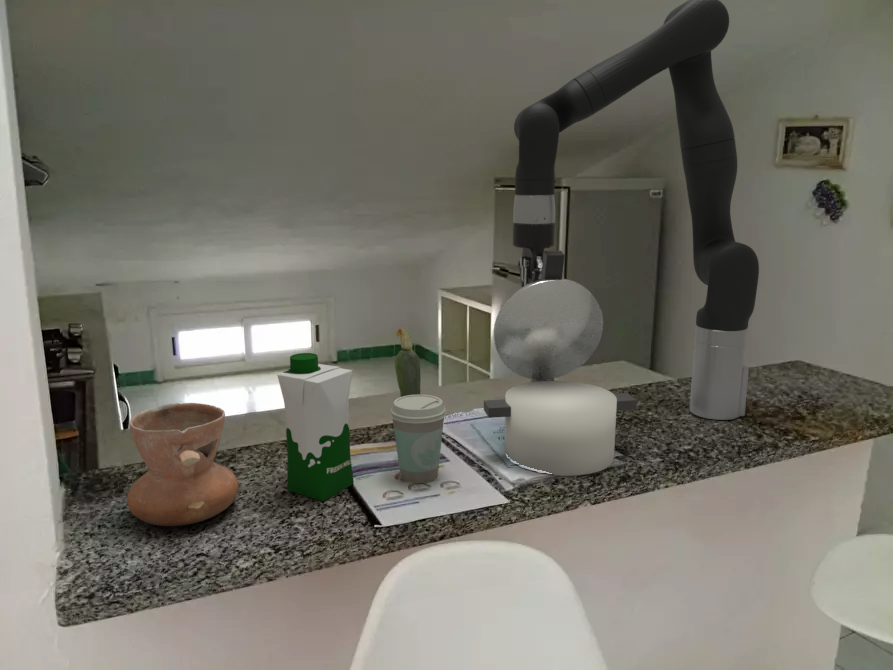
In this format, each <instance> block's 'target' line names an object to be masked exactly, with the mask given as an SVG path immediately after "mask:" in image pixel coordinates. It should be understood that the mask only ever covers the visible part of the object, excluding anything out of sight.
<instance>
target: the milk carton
mask: <svg viewBox="0 0 893 670" xmlns="http://www.w3.org/2000/svg"><path fill="white" fill-rule="evenodd" d="M289 363H290V364H289V367H290V368H289V369H288V370H285V371H283V372H281V373H278V374H277V379H278V383H279V386H280V390H281V395H282V399H283V404H284V417H285V434H286V438H285V439H286V452H287V454H286V455H287V471H286V472H287V477H286V478H287V479H286V480H287V482H286V484H287V485H286V486H287V487H286V490H287V491H289V492H293V493H295V494H299V495H301V496H305V497H308V498H312V499H314V500H318V501H320V502H325V501H326V500H328V499H330V498H331V497H333V496H335V495H336V494H338V493H340V492H341V491H345V489H347V488H349V487H351V486H352V484H353V483H354V484H355V482H354V473H353V465H352V459H351V440H350V437H351V435H350V413H349V412H350V408H349V407H350V406H349V403H350V402H349V398H350V391H351V384H352V376H353V372H354V371H353V369H347V368H341V367H340V366H335V365H328V364H322V363H319V357H318V354H316V353H312V352H311V353H310V352H302V353H301V352H300V353H295V354H292V355H290V357H289ZM354 484H353V485H354Z"/></svg>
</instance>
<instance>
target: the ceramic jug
mask: <svg viewBox="0 0 893 670" xmlns="http://www.w3.org/2000/svg"><path fill="white" fill-rule="evenodd" d="M225 420H226V412H225V410H224V409H222V408H221V407H217V406H214V405H210V404H207V403H206V404H205V403H201V402H200V403H199V402H182V403H178V402H176V403H169V404H164V405H159V406H155V407H150V408H146V409H145V410H143V411H142V410H141V411H139V412H138V413H136V414H135V415H133V417H131V418H130V419H129V423H128V424H129V425H128V426H129V430H130V433H131V438H132V439H133V442H134V445H135V447H136V449H137V451H138V453H139V455H140V458H141V459H142V460H143V462H144V464H145V465H146V467H147V468H148V471H146V472H145V473H144V474H143V475H141V476H140V477H139V478H138V479H137V480H135V481H134V483H133V484H132V486H131V487H130V488H129V490H128V493H127V498H126V503H127V504H126V505H127V506H128V509H129V511H130V513H132V515H133V516H134V517H135V518H137V519H138V520H140V521H142V522H145V523H147V524H149V525H154V526H159V527H179V526H180V527H181V526H187V525H192V524H193V525H194V524H196V523H200V522H204V521H206V520H208V519H211V518H213V517H215V516H217V515H219V514H221V513H222V512H224V511H225V510H226V509H227V508H229V507H230V506H231V505H232V504H233V503H234V501H235V500H236V498H237V495H238V492H239V480H238V478H237V476H236V475H235V473H233V472H232V471H231V470H230V469H228V468H227V467H225V466H222V465H220V464H218V463H216V462H215V461H214V460H215V457H216V456H217V455H216V454H217V452H218V449H219V446H220V442H221V438H222V436H223V433H224V428H225Z"/></svg>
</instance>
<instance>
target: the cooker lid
mask: <svg viewBox="0 0 893 670" xmlns="http://www.w3.org/2000/svg"><path fill="white" fill-rule="evenodd" d="M564 262H565V253H563V251H562V250H544V253H543V263H542V273H541V280H538V281H535V282H532V283H530V284H528V285H526V286H524V287H522V286H521V287H520V288H519V289H518V290H517V291H515V292H514V293H512V294H511V295H510V296H509V297H508V298H507V299H506V301H505V302H504V303H503V305H502V306H501V307H500V310H499V311H498V313H497V316H496V317H495V321H494V324H493V343H494V347H495V350H496V353H497V354H498V356H499V358H500V360H501V362H502V363H503V364H504V365H505V366H506V368H507V369H509V370H510V371H512V372H513V373H514V374H516V375H518V376H520V377H523V378H527V379H529V380H530V382H537V381H555V379H557V378H561V377H563V376H566V375H568V374H570V373H573V372H574V371H576V370H577V369H579V368H580V367H581V366H583V365H584V364H585V363H586V362H587V361H588V360H590V357H592V355H593V354H594V352H595V351H596V350H597V348H598V345H600V344H599V343H600V341H601V338H602V335H603V331H604V317H603V311H602V309H601V306H600V304H599V303H598V300H597V299H596V297H595V296H594V295H593V294H592V293H591V291H589V289H587V288H586V287H585V286H583V285H582V284H580V283H579V282H577V281H574V280H572V279H571V280H570V279H569V278H563V273H564V265H565V263H564Z"/></svg>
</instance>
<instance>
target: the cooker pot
mask: <svg viewBox="0 0 893 670" xmlns="http://www.w3.org/2000/svg"><path fill="white" fill-rule="evenodd" d="M637 405H638V399H636V398H635V397H633V396H632V394H630V393H628V392H621V393H620V392H618V393H613V392H612V391H610V390H608V389H605V388H603V387H601V386H597V385H593V384H589V383H586V382H585V383H584V382H579V381H569V380H568V381H567V380H554V381H537V382H525V383H520V384H517V385H515V386H513V387H510V388H509V389H508V390H506V392H505V399H504V398H503V399H485V400H483V411H484V413H485V414H486V416H487V417H488V418H492V419H493V418H504V454H505V453H506V454H507V455H508V457H510V458H511V459H512V460H513V461H516V462H517V463H519V464H521V465H524V466H527V467H530V468H534V469H537V470H542V471H546V472H549V473H552V474H554V475H553V476H558V475H559V476H562V477H564V476H565V477H571V476H572V477H573V476H584V475H589V474H594V473H598V472H601V471H602V470H605V469H607V468H609V467H610V466H611V465H612V464H613V462H614V460H615V447H616V446H615V443H616V426H617V425H616V424H617V422H616V421H617V411H634V410H635V411H636V410H637V408H638V406H637Z"/></svg>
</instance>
